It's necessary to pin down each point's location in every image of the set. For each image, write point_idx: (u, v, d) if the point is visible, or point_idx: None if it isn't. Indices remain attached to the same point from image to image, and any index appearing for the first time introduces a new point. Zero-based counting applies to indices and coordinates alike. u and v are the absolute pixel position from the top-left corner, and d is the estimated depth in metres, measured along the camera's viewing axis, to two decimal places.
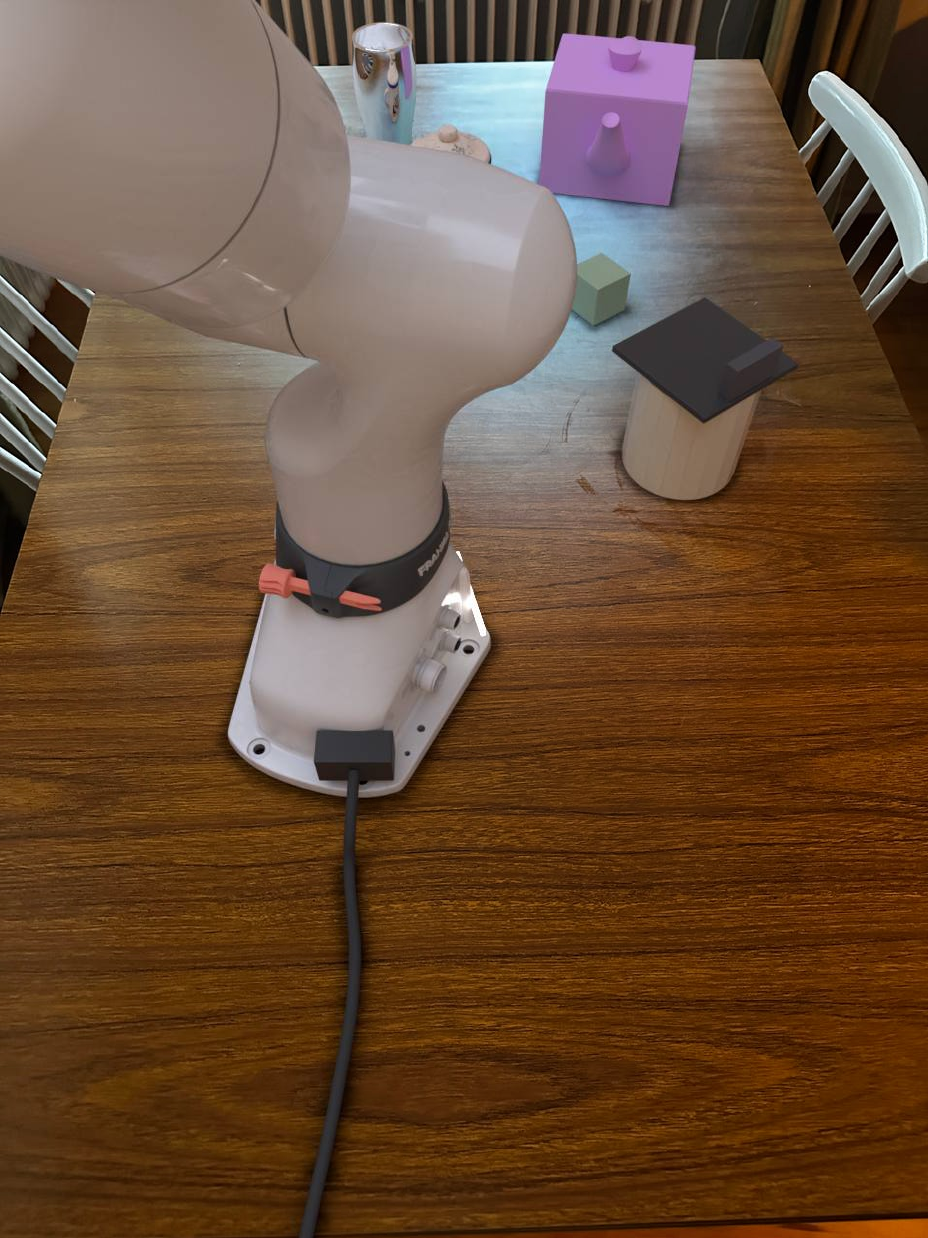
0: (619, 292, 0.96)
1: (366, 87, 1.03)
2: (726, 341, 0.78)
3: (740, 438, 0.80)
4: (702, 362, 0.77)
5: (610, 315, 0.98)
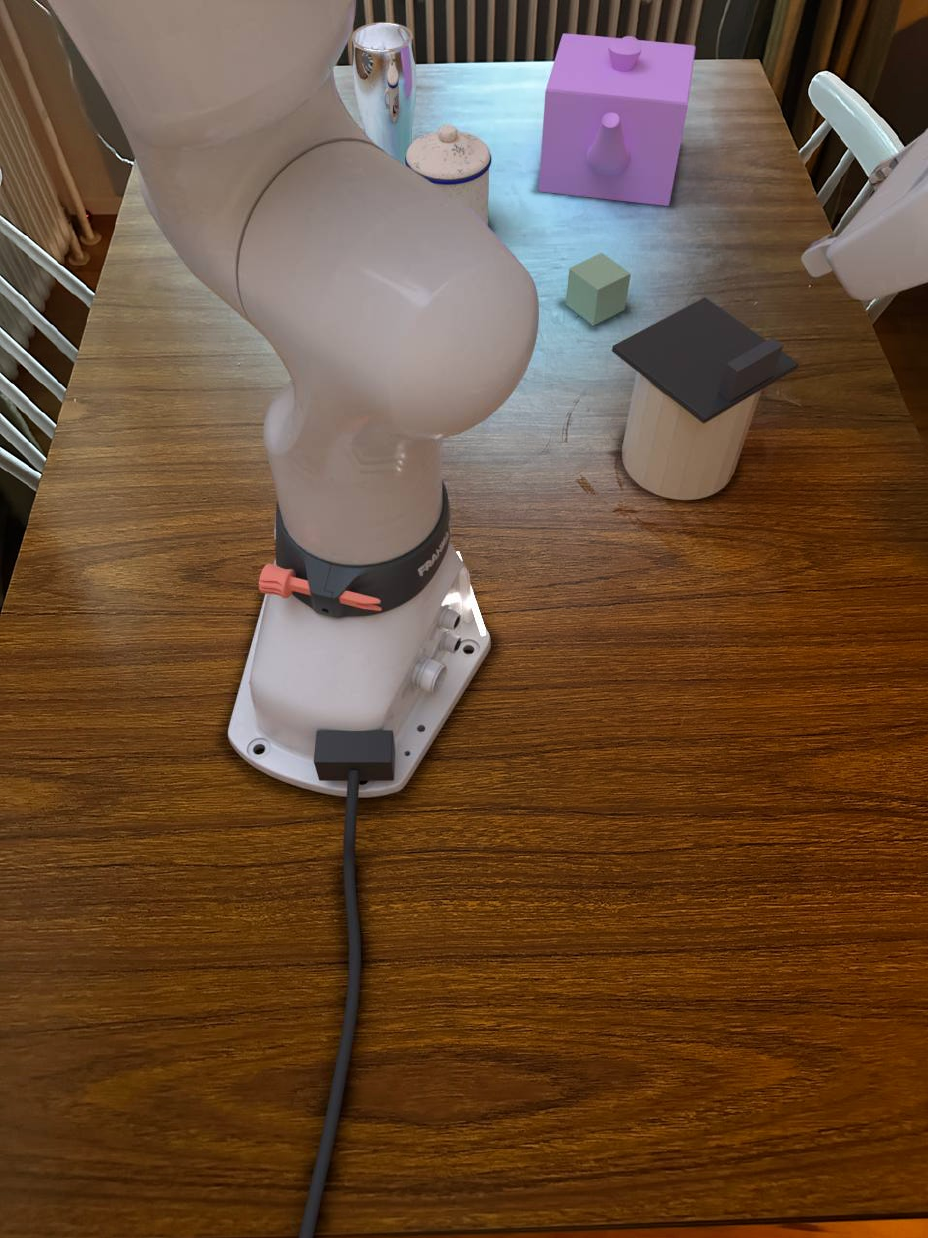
0: (619, 292, 0.96)
1: (366, 87, 1.03)
2: (726, 341, 0.78)
3: (740, 438, 0.80)
4: (702, 362, 0.77)
5: (610, 315, 0.98)
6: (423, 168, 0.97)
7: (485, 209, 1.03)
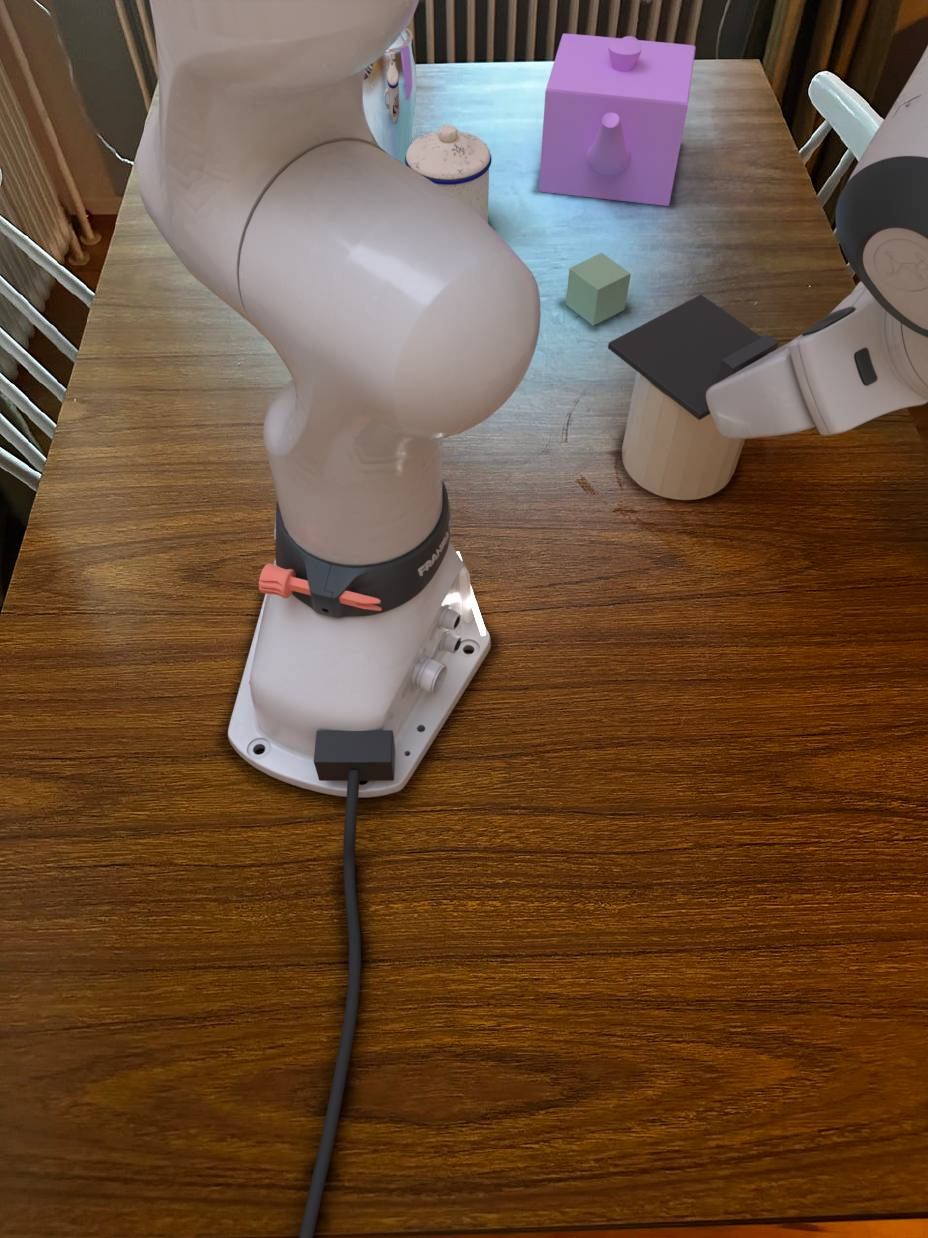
0: (619, 292, 0.96)
1: (366, 87, 1.03)
2: (722, 338, 0.78)
3: None
4: (698, 359, 0.77)
5: (610, 315, 0.98)
6: (423, 168, 0.97)
7: (485, 209, 1.03)
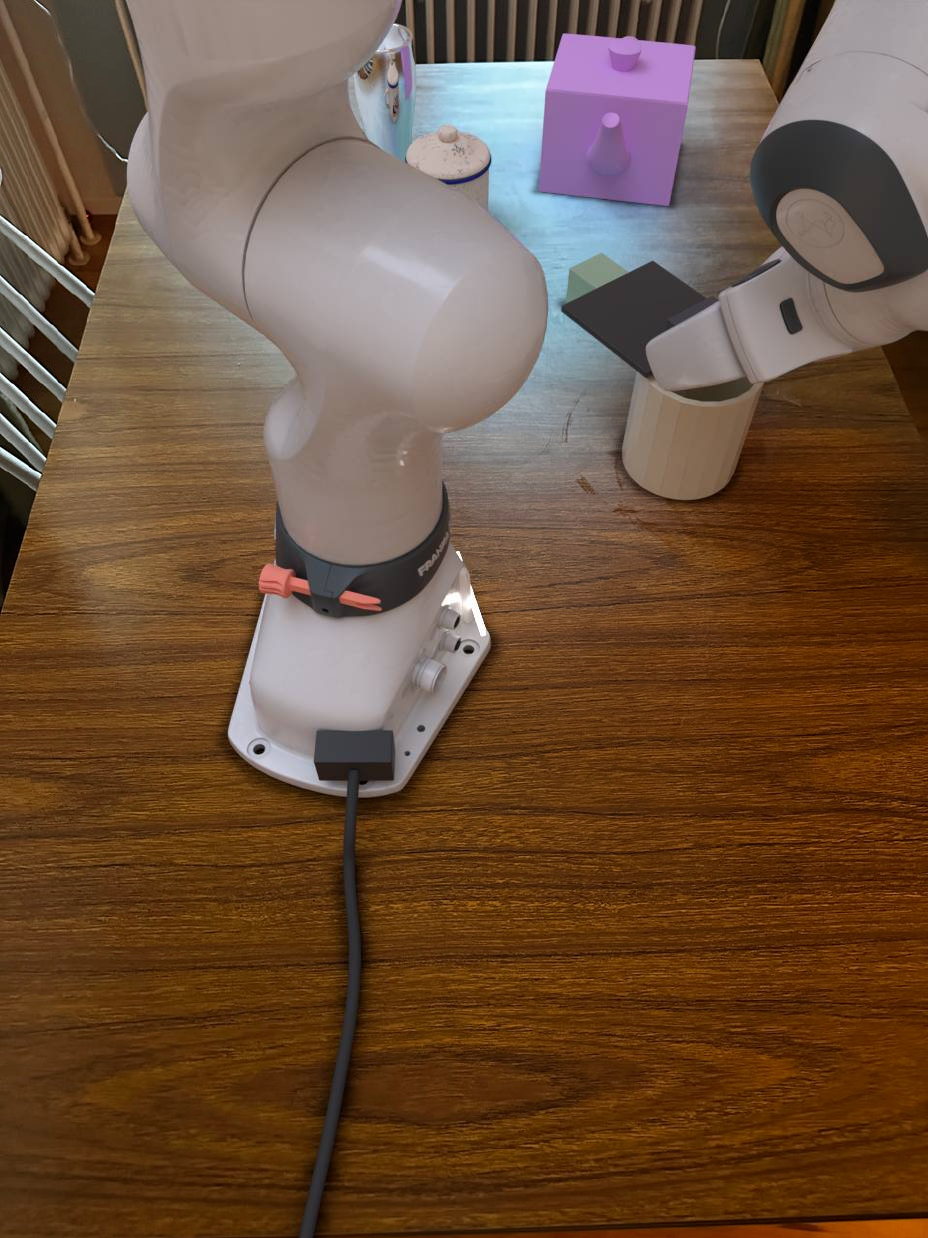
0: None
1: (366, 87, 1.03)
2: (671, 301, 0.81)
3: (740, 438, 0.80)
4: (647, 321, 0.79)
5: None
6: (423, 168, 0.97)
7: (485, 209, 1.03)
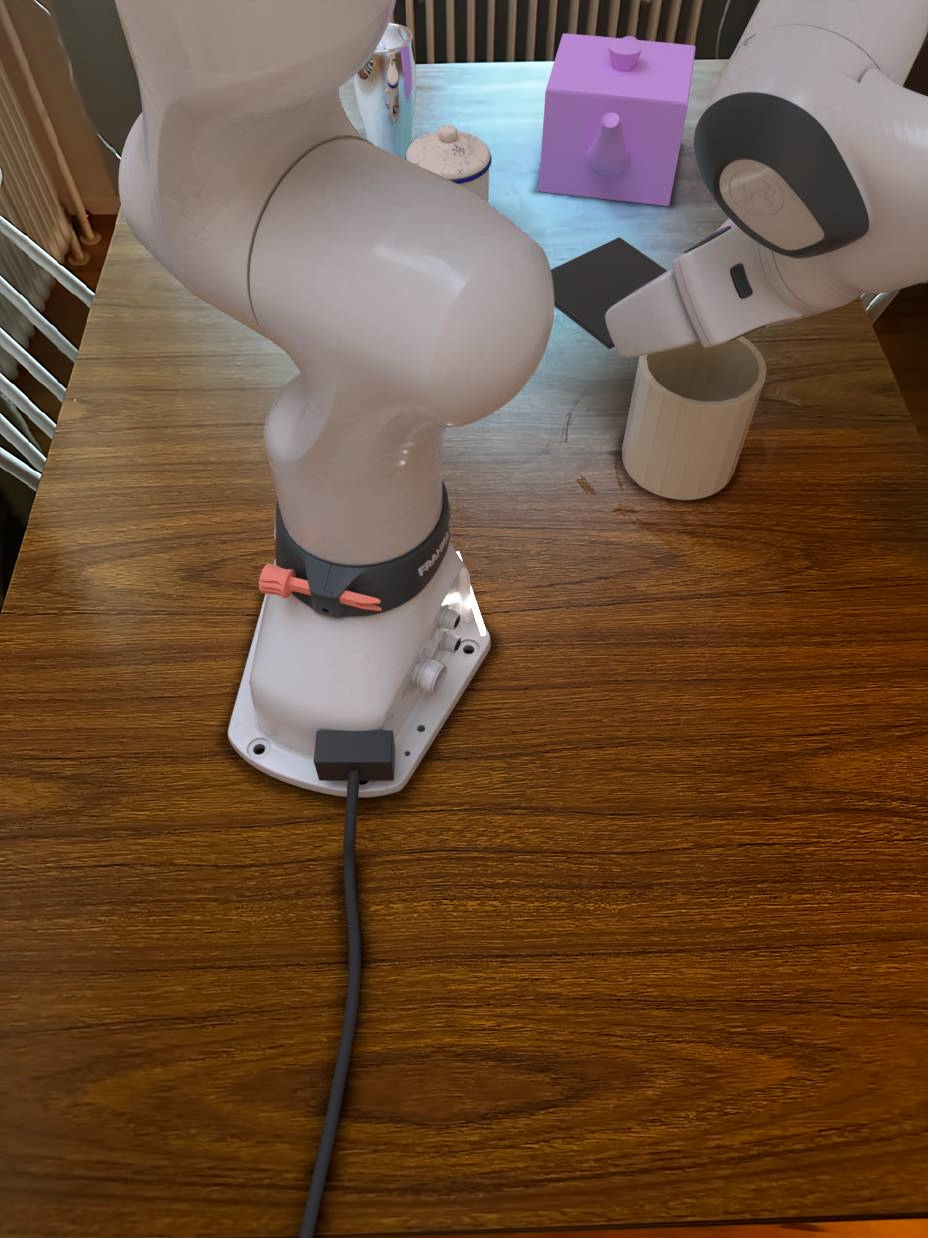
0: None
1: (366, 87, 1.03)
2: (636, 276, 0.83)
3: (740, 438, 0.80)
4: (612, 294, 0.81)
5: None
6: None
7: None
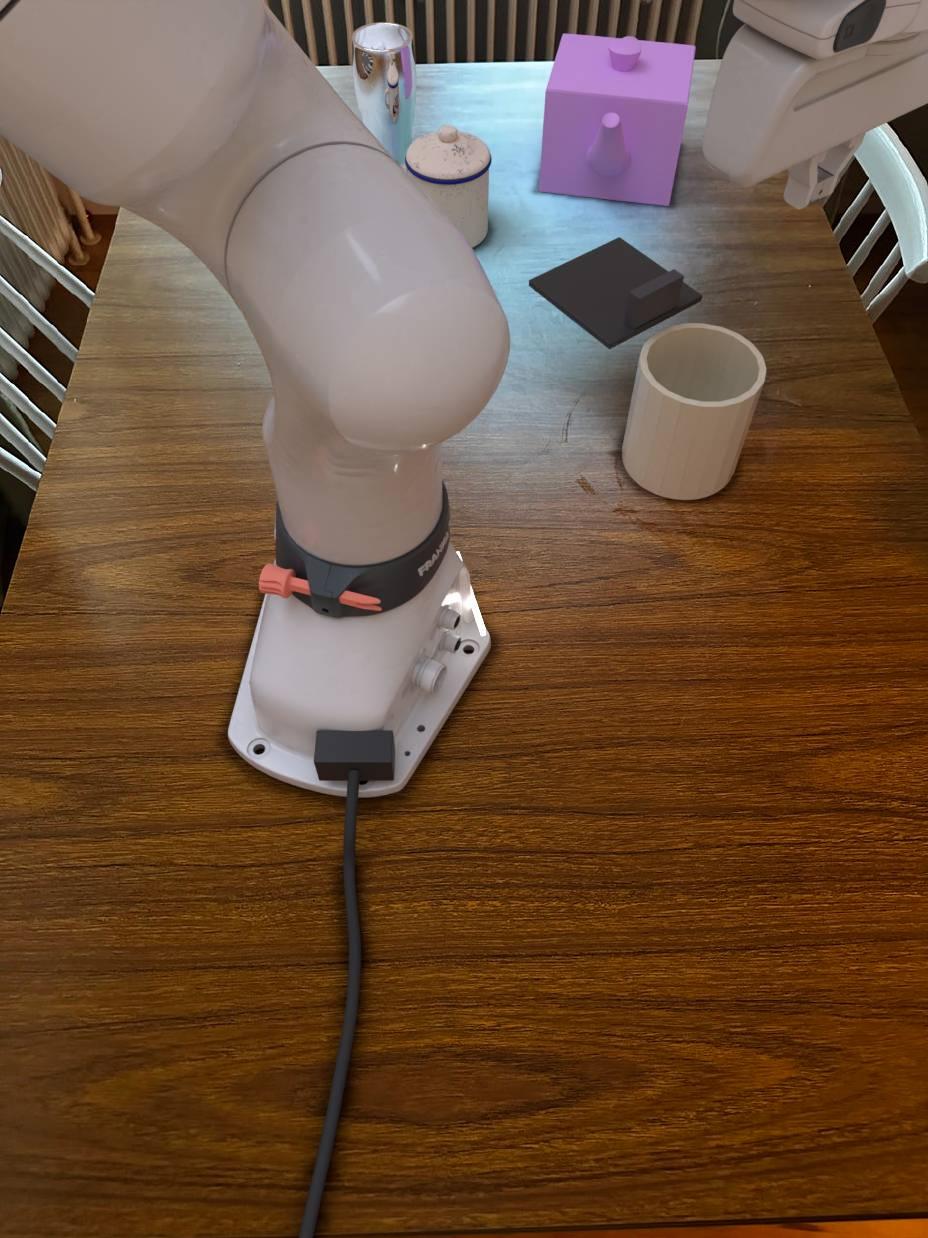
0: None
1: (366, 87, 1.03)
2: (636, 276, 0.83)
3: (740, 438, 0.80)
4: (612, 294, 0.81)
5: None
6: (423, 168, 0.97)
7: (485, 209, 1.03)
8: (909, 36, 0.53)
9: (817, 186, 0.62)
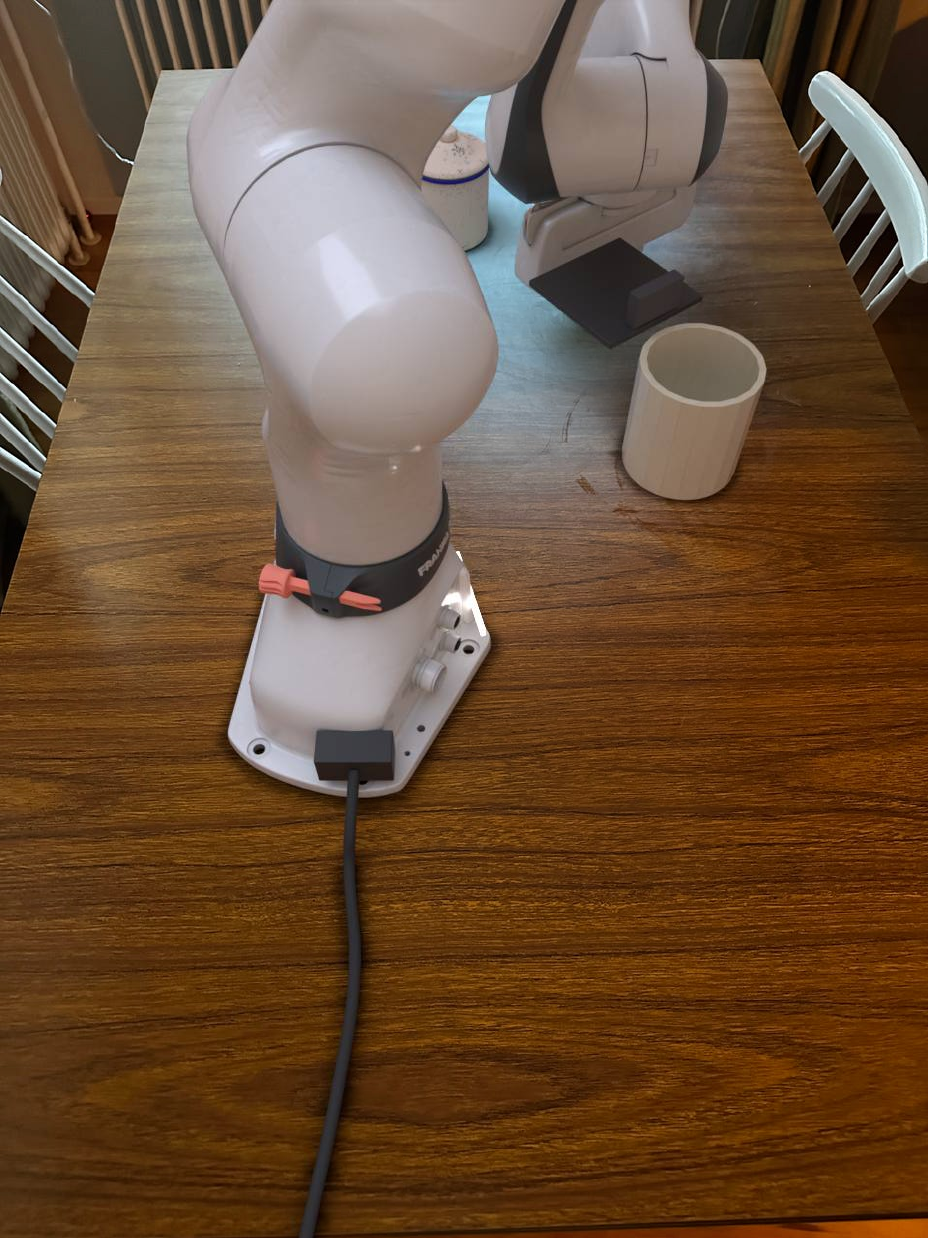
0: None
1: None
2: (636, 276, 0.83)
3: (740, 438, 0.80)
4: (612, 294, 0.81)
5: None
6: None
7: (485, 209, 1.03)
8: None
9: None
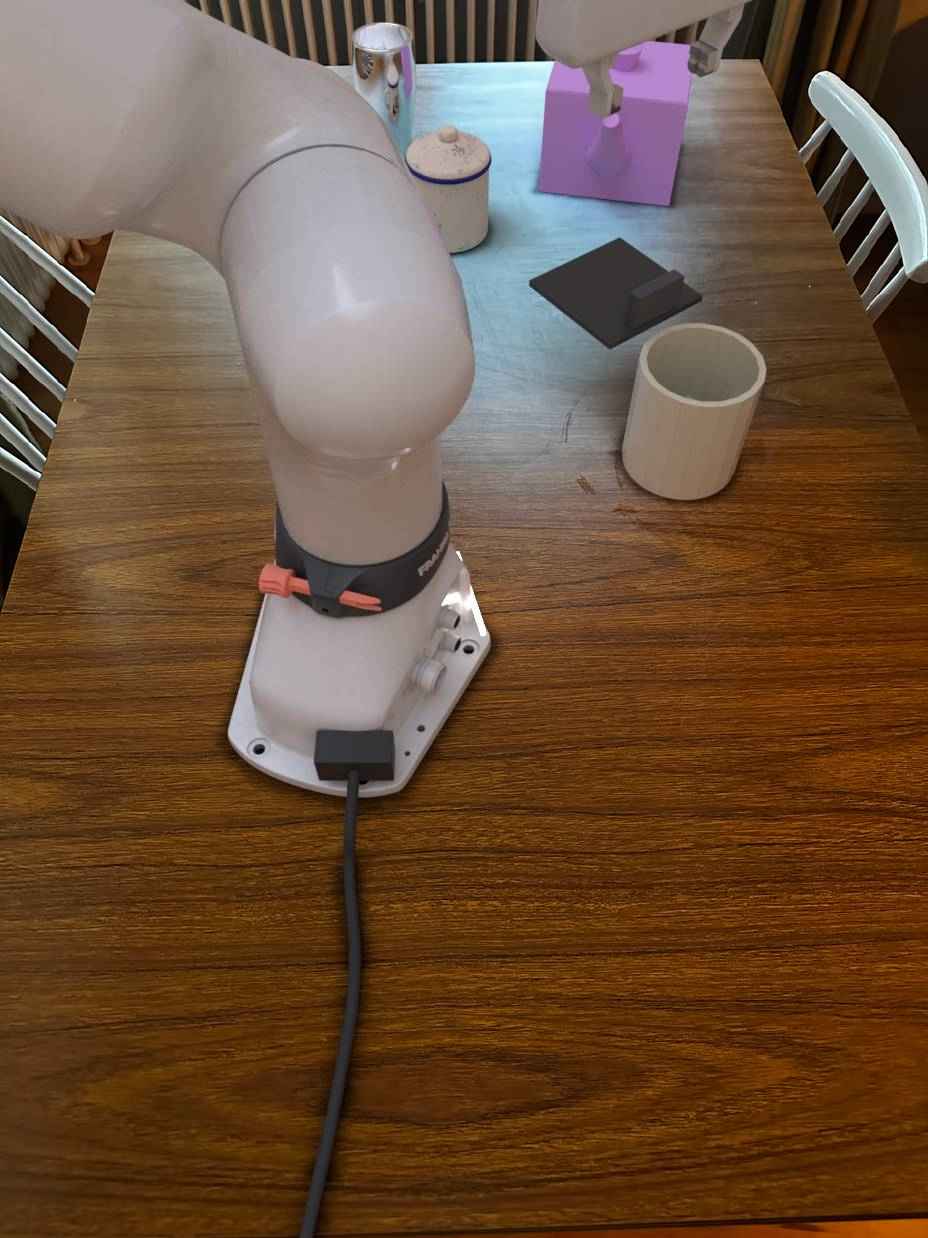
0: None
1: (366, 87, 1.03)
2: (636, 276, 0.83)
3: (740, 438, 0.80)
4: (612, 294, 0.81)
5: None
6: (423, 168, 0.97)
7: (485, 209, 1.03)
8: None
9: None
